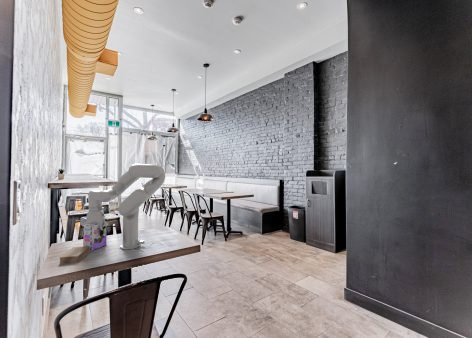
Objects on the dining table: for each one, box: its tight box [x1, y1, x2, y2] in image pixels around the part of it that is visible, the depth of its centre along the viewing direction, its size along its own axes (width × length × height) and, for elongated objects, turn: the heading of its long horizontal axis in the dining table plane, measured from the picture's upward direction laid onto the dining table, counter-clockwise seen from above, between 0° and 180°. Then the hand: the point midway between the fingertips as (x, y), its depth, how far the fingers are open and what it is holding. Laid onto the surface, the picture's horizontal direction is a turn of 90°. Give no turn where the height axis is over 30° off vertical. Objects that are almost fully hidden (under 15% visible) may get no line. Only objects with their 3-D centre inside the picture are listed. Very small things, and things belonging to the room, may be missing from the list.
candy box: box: [82, 223, 107, 253], centre depth 156 cm, size 14×6×16 cm, turn 169°
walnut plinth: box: [59, 246, 90, 265], centre depth 140 cm, size 9×17×4 cm, turn 14°
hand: (95, 235), depth 156 cm, fingers closed on candy box, 7 cm apart
